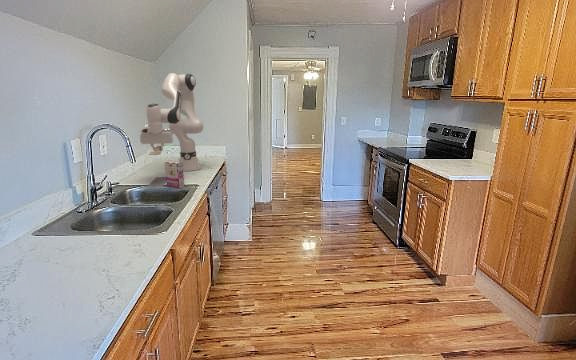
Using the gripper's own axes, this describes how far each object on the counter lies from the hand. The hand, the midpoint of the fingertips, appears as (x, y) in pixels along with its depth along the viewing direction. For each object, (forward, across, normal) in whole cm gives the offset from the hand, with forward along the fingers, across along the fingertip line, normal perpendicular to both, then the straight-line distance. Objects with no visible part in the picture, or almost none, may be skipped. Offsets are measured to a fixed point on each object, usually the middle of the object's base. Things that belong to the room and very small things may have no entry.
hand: (157, 150), depth 221 cm
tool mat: (+21, 0, +4) cm, 21 cm away
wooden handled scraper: (+1, 0, +3) cm, 3 cm away
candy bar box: (+21, -13, +18) cm, 31 cm away
